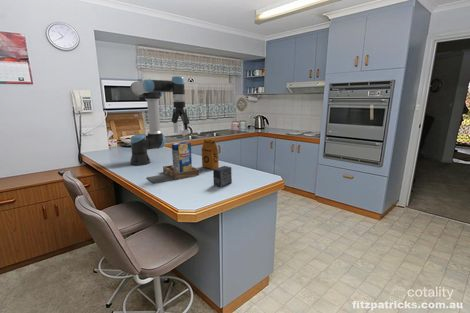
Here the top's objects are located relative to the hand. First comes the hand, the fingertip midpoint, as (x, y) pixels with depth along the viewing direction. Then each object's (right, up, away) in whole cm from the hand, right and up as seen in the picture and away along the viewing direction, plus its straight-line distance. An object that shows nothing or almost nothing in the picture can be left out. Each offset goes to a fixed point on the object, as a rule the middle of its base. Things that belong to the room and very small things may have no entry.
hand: (180, 133), depth 168 cm
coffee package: (+18, -24, +24) cm, 39 cm away
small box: (+29, -33, -13) cm, 45 cm away
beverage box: (0, -28, +7) cm, 29 cm away
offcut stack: (-6, -26, +15) cm, 31 cm away
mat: (-13, -30, -3) cm, 33 cm away
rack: (-2, -27, +9) cm, 29 cm away
